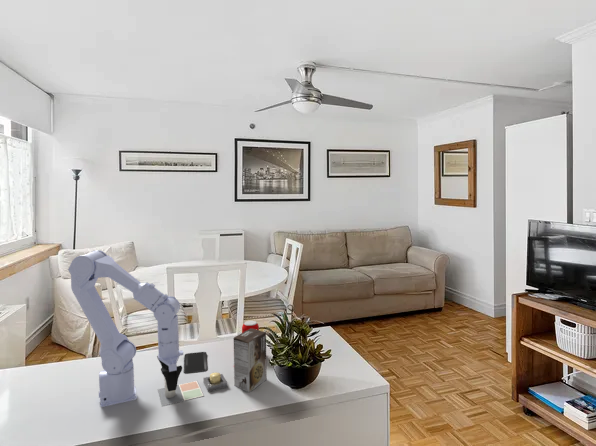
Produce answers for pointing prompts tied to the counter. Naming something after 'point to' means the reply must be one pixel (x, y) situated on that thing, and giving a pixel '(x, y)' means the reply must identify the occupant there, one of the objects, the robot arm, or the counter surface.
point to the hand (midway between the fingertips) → (170, 383)
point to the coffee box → (250, 359)
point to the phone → (195, 362)
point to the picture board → (182, 393)
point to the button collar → (215, 386)
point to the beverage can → (249, 325)
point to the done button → (215, 378)
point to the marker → (168, 393)
